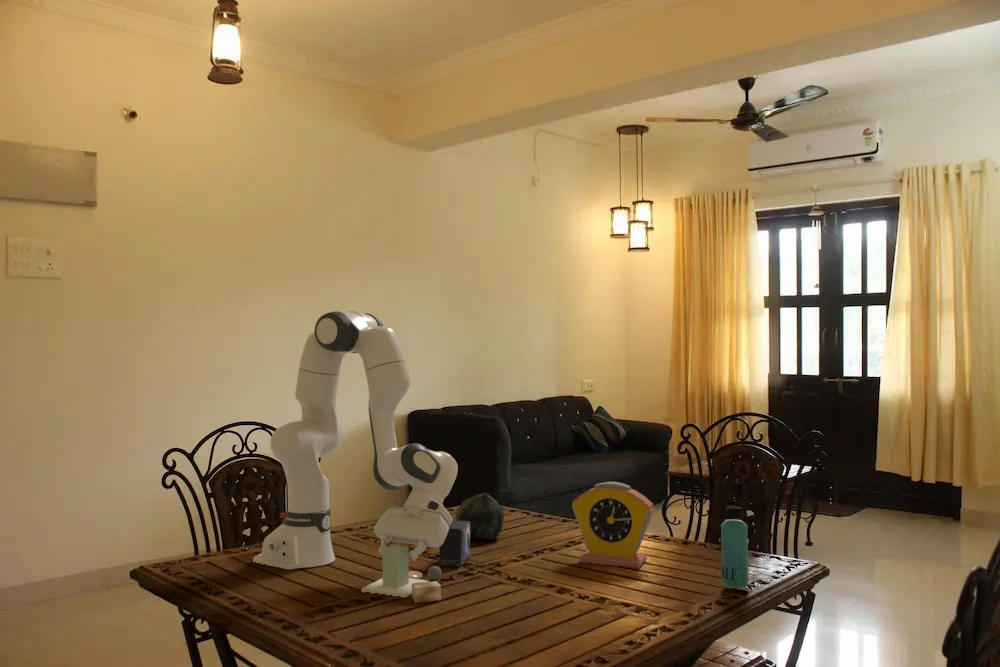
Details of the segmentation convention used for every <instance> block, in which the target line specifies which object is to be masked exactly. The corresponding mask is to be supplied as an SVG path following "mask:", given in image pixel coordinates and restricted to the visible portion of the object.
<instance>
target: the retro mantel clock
mask: <svg viewBox="0 0 1000 667" xmlns="http://www.w3.org/2000/svg"><path fill="white" fill-rule="evenodd" d="M571 503H572V505H571V508H572V510H573V513H574V516H575V519H576V522H577V525H578V527H579V531H580V532H581V536H582V539H583V542H584V544H585V546H586V549H587V550H586V551H585V552H584V553H583V554H582V555H580V556H579V557H578V562H579V563H580V562H581V563H580V564H587V563H594V564H593V565H598V564H603V565H602V566H608V565H611V567H619V566H623V567H622V568H629V567H635V568H634V569H639V568H640V567H641V566H643V564H644V563H645V562H646V561H647V559H648V558H647V557H648V556H647V554H646V553H638V551H639V550H640V548H641V545H642V542H643V539H644V537H645V534H646V531H647V528H648V527H649V526H648V525H649V523H650V520H651V519H652V518H651V517H652V516H653V515H652V514H653V512H654V509H655V508H654V503H653V502H652V501H651V500H649V499H648V497H646V496H645V495H644V494H642V493H640V492H639V491H638V490H636V489H633V488H631V486H630V485H629V484H625V483H623V482H618V481H604V482H599V483H597V484H594V486H593V487H592V488H590V489H589V490H587V491H585V492H584V493H582V494H580V495H579V496H577V497H576V498H575V499H573V501H572V502H571ZM636 567H637V568H636Z"/></svg>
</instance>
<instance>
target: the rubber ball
mask: <svg viewBox="0 0 1000 667" xmlns="http://www.w3.org/2000/svg"><path fill="white" fill-rule="evenodd" d="M442 571H443V570H442V569H441V568H440V566H437V565H433V566H431V567H430V568H428V570H427V577H428V579H429V581H431V582H432V581H437V582H438V581H439V580H440V579H441V577H443V576H442V575H443V572H442Z"/></svg>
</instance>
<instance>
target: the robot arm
mask: <svg viewBox="0 0 1000 667" xmlns="http://www.w3.org/2000/svg"><path fill="white" fill-rule="evenodd" d="M404 352H405V351H404V349H403V347H402V345H401V342H400V340H399V338H398V336H397V333H396V332H395V330H393V329H392V328H391V327H389V326H385V325H384V324H383V322H382V320H380V318H378V317H376V316H375V315H373V314H370V313H363V312H359V311H353V310H352V311H351V310H350V311H330V312H327V313H324V314H323V315H321V316H320V317H319V318H318V319H317V320H316V323H315V325H314V331H313V332H311V333H310V334H309V335H308V337H307V339H306V341H305V344H304V346H303V349H302V353H301V358H300V361H299V368H298V373H297V378H296V379H297V381H296V385H295V392H294V394H295V395H294V396H295V399H296V400H297V401H298V402H299V404H300V408H301V419H300V420H296V421H290V422H287V423H286V424H283V425H281V426H279V427H277V428H276V429H275V430H274V432H273V433H272V435H271V437H270V450H271V451H272V455H274V457H275V458H276V459H277V460H278V461H279V462H280V463H281V465H282V468H283V472H284V474H285V475H284V476H285V478H286V483H287V484H286V486H287V510H285V511H284V512H282V513H279V515H281V516H279V518H283V519H282V524H280V525H279V526H278V527H276V529H274V530H273V531H272V532H270V533H269V534H268V535H267V536H266V537H264V540H263V543H262V548H261V553H259V554H257V555H255V556H254V557H253V559H252V562H253V563H255V562H256V564H259V563H260V564H259V565H264V564H265V566H269V567H270V566H271V567H273V566H274V567H275V568H278V567H279V569H284V570H294V569H295V570H296V569H301V568H302V569H303V568H315V567H319V566H325V565H328V564H331V563H333V562H335V560H336V557H335V556H336V555H335V553H334V550H333V544H332V539H331V538H332V537H331V530H330V529H331V525H332V523H331V522H332V521H331V520H332V518H331V516H332V515H331V512H332V511H331V508H330V483H329V479H328V478H327V477H326V475H324V474H323V472H322V470H321V466H320V462H319V460H320V459H319V458H322V457H327V456H329V455H331V454H333V453H334V452H336V451H337V450H338V449H340V447H341V446H342V444H343V442H344V437H345V434H344V433H345V432H344V429H343V428H342V425H341V424H340V423H339V420H338V416H337V415H338V414H337V395H338V394H337V393H338V387H339V381H340V380H339V379H340V373H341V368H342V367H341V365H342V361H343V358H344V357H345V356H346V354H347V353H350V354H351V353H352V354H359V356H360V358H361V360H362V363H363V364H362V365H363V368H364V372H365V376H366V381H367V388H368V415H369V423H370V429H371V436H372V437H371V438H372V444H373V450H374V457H373V468H372V469H373V470H372V472H373V477H374V478H375V480H376V482H377V483H378V485H379V486H381V487H382V488H384V489H385V490H388V491H396V490H399V489H401V488H403V487H405V486H406V485H410V486H411V488H412V490H411V492H410V493H409V495H408V497H407V498H406V501H405V502H404V504H403V506H399V505H393V506H392V507H388V508H387V509H386V510H385V511H384V513H382V515H381V517H379V519H378V520H377V522H376V523H375V525H374V527H373V532H374V534H375V535H376V537H377V538H379V539H380V547H379V548H378V551H377V552H378V554H380V555H382V548H385V547H388V544H390V542H391V541H392V542H399V543H403V544H410V545H415V546H416V547H415V548H414V549H410V550H409V554H408V557H409V560H411V561H416V560H417V559H418V557H419V555H420V554H422V553H423V552H425V551H426V549H427V547H428V548H429V547H430V548H435V549H438V548H439V547H440V546H441V545H442V544H443V542H444V540H445V538H446V536H447V534H448V531H449V526H448V525H450V524H451V523H452V521H453V520H454V519H453V518H452V515H451V514H450V513H449V512H448V510H447V508H446V506H444V501H445V499H446V497H448V496H449V494H450V493H451V491H452V488H453V486H454V483H455V482H456V481H455V480H456V479H457V476H458V470H459V467H458V463H457V461H456V459H455V458H454V457H453V456H452V455H451V454H449V453H448V452H445V451H440V450H439V451H434V450H431V449H429V448H426V447H425V445H423V444H420V443H417V442H413V443H409V444H406V445H403V446H401V447H398V442H397V435H396V429H395V423H394V421H395V420H394V419H395V418H394V417H395V412H396V410H397V407H398V405H399V403H400V402H401V401H402V399H403V398H404V397H405V396H406V394H407V392H408V390H409V388H410V384H411V381H410V370H409V368H408V367H409V366H408V362H407V360H406V355H405V353H404Z"/></svg>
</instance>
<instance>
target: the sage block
mask: <svg viewBox="0 0 1000 667" xmlns="http://www.w3.org/2000/svg"><path fill="white" fill-rule="evenodd" d="M409 553H410V548H409V546H406V545H399V544H392V545H389V546H388V545H387V547H385V548H382V554H381V556H382V559H381V560H382V562H381V564H382V566H381V567H382V578H383V586H388V587H393V588H399V587H401V586H404V585H406V584H409V571H410V568H409V562H410V561H409V560H410V558H409V557H408V554H409Z"/></svg>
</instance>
